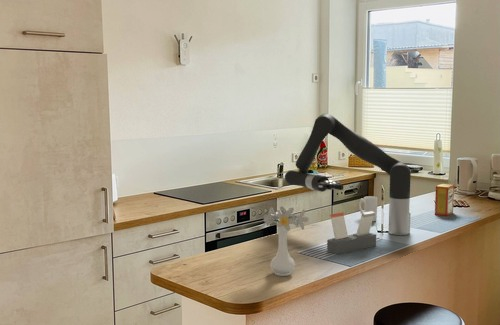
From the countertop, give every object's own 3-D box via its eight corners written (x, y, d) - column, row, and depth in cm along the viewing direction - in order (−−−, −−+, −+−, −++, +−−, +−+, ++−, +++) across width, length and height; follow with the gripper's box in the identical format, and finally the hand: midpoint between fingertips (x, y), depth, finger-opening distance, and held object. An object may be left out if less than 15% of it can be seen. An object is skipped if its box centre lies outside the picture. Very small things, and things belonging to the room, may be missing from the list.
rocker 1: (345, 237, 243) (340, 212, 244) (348, 236, 241) (343, 212, 243) (335, 239, 240) (330, 214, 241) (337, 239, 238) (332, 214, 240)
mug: (379, 219, 296) (379, 197, 295) (373, 222, 291) (373, 199, 289) (361, 217, 302) (362, 195, 301) (355, 219, 297) (356, 197, 296)
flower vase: (312, 271, 214) (313, 206, 211) (279, 283, 202) (279, 214, 198) (286, 263, 224) (286, 201, 220) (253, 274, 211) (253, 208, 208)
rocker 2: (366, 232, 249) (372, 210, 245) (368, 234, 248) (374, 212, 244) (356, 234, 246) (362, 212, 242) (358, 236, 245) (364, 214, 241)
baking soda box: (446, 216, 304) (447, 186, 302) (434, 214, 308) (435, 185, 306) (452, 213, 311) (454, 184, 309) (441, 211, 315) (442, 183, 313)
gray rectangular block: (366, 242, 253) (366, 230, 253) (376, 245, 248) (376, 233, 248) (327, 251, 241) (327, 238, 240) (336, 254, 236) (337, 241, 235)
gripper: (306, 175, 265) (331, 180, 251) (327, 173, 273) (353, 178, 258) (306, 191, 266) (331, 197, 252) (327, 188, 274) (352, 194, 259)
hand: (342, 187), depth 255 cm, fingers closed
